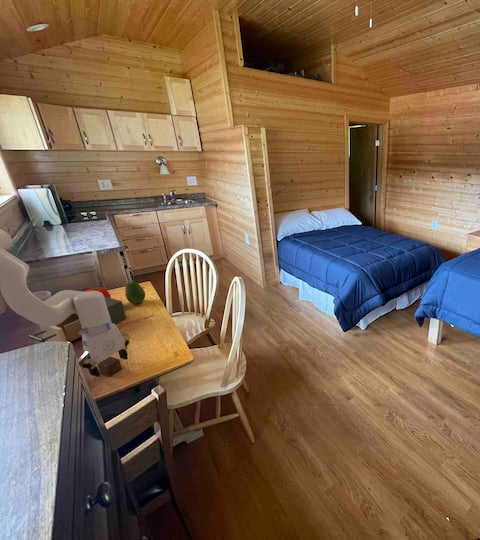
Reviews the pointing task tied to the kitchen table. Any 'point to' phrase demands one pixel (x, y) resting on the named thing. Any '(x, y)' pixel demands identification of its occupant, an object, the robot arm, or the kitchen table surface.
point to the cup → (42, 295)
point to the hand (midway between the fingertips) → (110, 366)
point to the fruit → (134, 292)
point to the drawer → (60, 330)
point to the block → (109, 366)
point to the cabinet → (114, 310)
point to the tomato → (100, 291)
